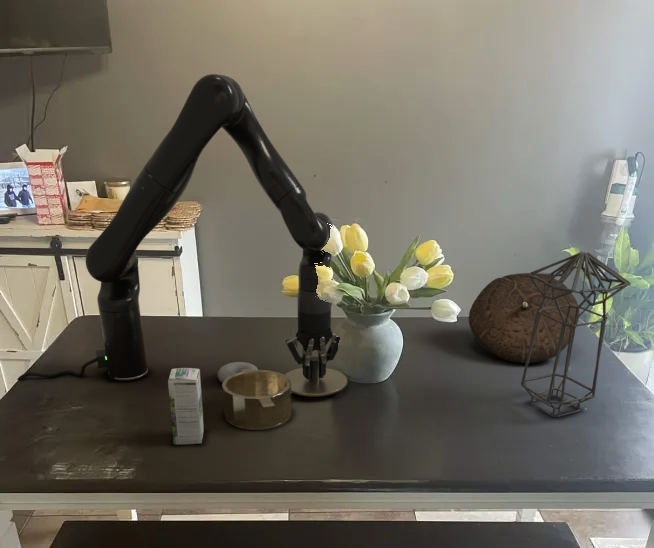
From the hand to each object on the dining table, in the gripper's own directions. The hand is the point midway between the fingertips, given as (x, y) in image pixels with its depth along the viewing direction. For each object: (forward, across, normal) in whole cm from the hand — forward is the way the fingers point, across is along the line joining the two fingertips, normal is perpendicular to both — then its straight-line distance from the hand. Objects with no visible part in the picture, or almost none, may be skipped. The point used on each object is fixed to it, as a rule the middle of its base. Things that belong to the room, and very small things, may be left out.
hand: (314, 377), depth 160 cm
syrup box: (+3, +32, +15) cm, 35 cm away
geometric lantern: (+3, -49, +26) cm, 56 cm away
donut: (+3, +16, -10) cm, 19 cm away
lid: (+1, 0, 0) cm, 1 cm away
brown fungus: (+3, -61, -7) cm, 61 cm away
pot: (+3, +16, +9) cm, 19 cm away
